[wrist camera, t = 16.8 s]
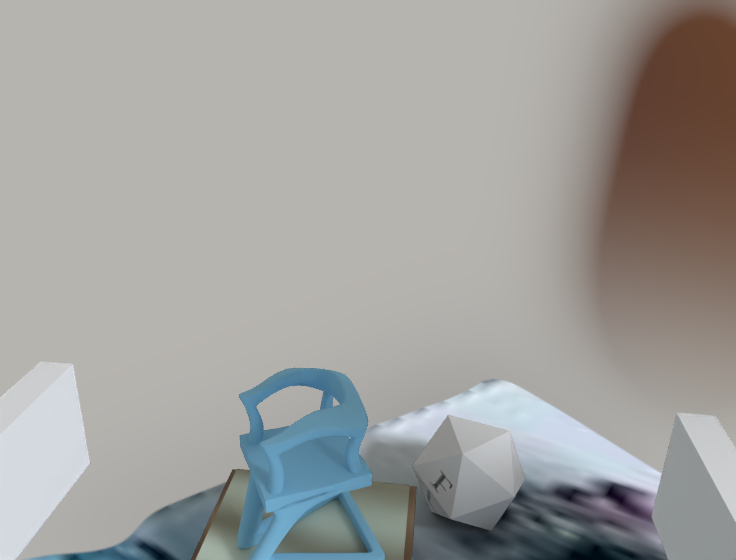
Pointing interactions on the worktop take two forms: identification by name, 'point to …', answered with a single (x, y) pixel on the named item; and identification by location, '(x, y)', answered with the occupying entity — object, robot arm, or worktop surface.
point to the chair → (304, 465)
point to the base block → (317, 523)
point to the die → (469, 472)
